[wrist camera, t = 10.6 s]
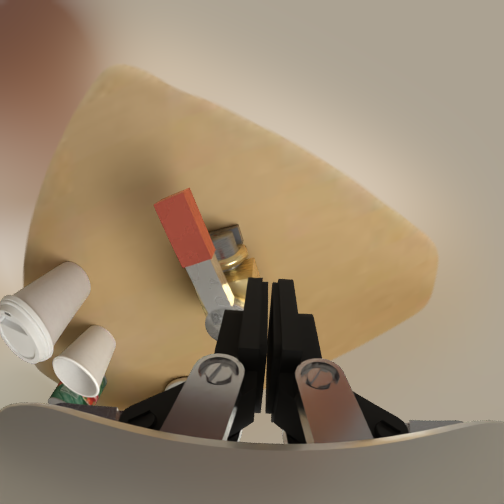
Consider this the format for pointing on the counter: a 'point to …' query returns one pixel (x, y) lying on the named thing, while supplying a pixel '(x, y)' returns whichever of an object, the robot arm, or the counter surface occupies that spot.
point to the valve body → (233, 261)
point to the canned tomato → (73, 395)
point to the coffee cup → (42, 311)
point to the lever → (197, 256)
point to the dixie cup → (85, 361)
